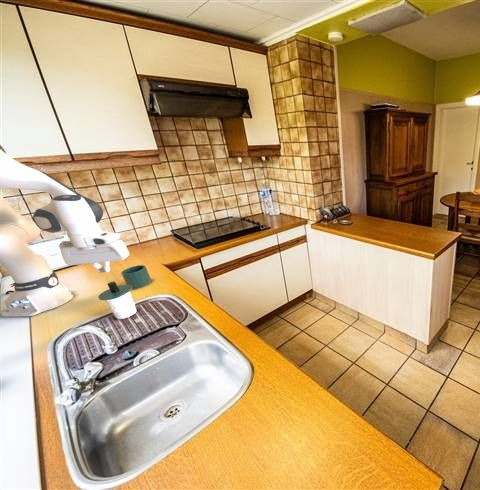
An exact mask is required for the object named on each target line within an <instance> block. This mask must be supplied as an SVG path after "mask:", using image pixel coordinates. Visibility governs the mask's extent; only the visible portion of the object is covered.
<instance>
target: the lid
mask: <svg viewBox="0 0 480 490" xmlns="http://www.w3.org/2000/svg"><path fill="white" fill-rule="evenodd" d="M106 285H107V286H108V289H106V290H104V291H103V292H101V293H100V294H99V295H98V297H97V298H98V300H100V301H105V300H110V299H114V298H117V297H120V296H122V295H124V294H126V293H128V292H131V291H132V290H133V289H132V286H131V285H126V284H121V285H117V283H116V281H109V282H108V283H107V284H106Z"/></svg>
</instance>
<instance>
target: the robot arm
mask: <svg viewBox="0 0 480 490" xmlns="http://www.w3.org/2000/svg"><path fill="white" fill-rule="evenodd" d="M0 189H2V190H3V189H4V190H29V191H30V190H31V191H38V192H43V193H47V194H49V195H50V196H52V198H51V199H50V203H48V204H46V205H45V206H42V207H39V208H36V209H35V211H34V212H33V215H32V220H31V219H28V218H26V217H24V216H23V215H22V214H20V212H17V211H16V209H14V208H13V207H12V206H11V205H10V204H9V202H7V201H6V200H5V197H3V196H2V195H1V194H0V265H1V266H2V268H4V269H5V271H6V272H7V273H8V275H9V276H10V277H11V279H12V280H13V283H11V284H9V285H8V286H9V287H10V288H13V287H14V290H7V291H6V292H5V295H9V294H10V293H11V294H10V295H9V296H8V297H7V298H6V300H5V301H4V305H5V307H6V309H5V310H4V311H3V312H2V313H1V317H2V318H3V317H6V318H7V317H10V318H12V317H33V316H37V315H38V314H42V313H44V312H47V311H50V310H53V309H56V308H58V307H60V306H63V305H65V304H67V303H68V302H69V301H71V300H72V299H73V298H74V295H73V294H72V292H71V290H69V289H68V287H67V286H65V285H64V283H63V282H62V281H61V280H60V279H59V276H58V275H57V273H56V272H55V271H54V270H52V268H51V266H50V264H49V263H48V261H47V260H46V258H45V256H43V255H41V254H37V253H35V252H34V251H33V250H32V249H31V248H30V247H29V246H28V245H29V244H31V243H32V242H34V241H36V240H37V239H38V237H39V236H40V235H41V233H42V231H44V232H47V233H51V234H56V233H63V232H66V235H67V237H68V239H69V240H63V241H61V242H60V243H59V245H58V247H59V250H60V253H61V257H62V259H63V261H64V263H65V264H66V265H68V266H80V265H88V264H90V265H91V267H92V268H94V269H95V270H97V271H98V273H99V274H101V273H109V272H110V271H111V268H110V265H111V262H115V261H124V260H125V259H127V258H129V256H130V251H129V249H128V247H127V246H126V243H125V242H124V241H123V240H122V239H121V235H120V233H118V232H112V231H108V230H102V228H101V226H100V225H99V224H98V223H100V221H101V220H102V219H103V216H104V209H103V208H102V206H101V204H100V203H98V202H96V201H95V200H93V199H91V198H89V197H86V196H84V195H82V194H81V193H79V192H77V191H76V190H75V189H73V188H71V187H69V186H68V185H67V184H65V183H64V182H62V181H60V180H59V179H56V177H53V176H52V175H51V174H49V173H46V172H44V171H42V170H39V169H35V168H33V167H30V166H28V165H26V164H23V163H21V162H19V161H17V160H15V159H14V158H13V157H11V156H10V155H9V154H7V152H6V150H5V148H4V147H3V146H2V145H1V144H0ZM102 265H103V266H102Z"/></svg>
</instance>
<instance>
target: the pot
mask: <svg viewBox="0 0 480 490" xmlns="http://www.w3.org/2000/svg"><path fill="white" fill-rule="evenodd" d="M120 274H121V276H122V279H123V280H124V282H125V285H131V286H132V290H136V289H137V290H138V289H141V288H144V287H146V286H148V285H149V284H151V283H152V278H151V275H150V273H149V271H148V269H147V267H146V265H143V264H141V265H139V264H138V265H134V266H131V267H128V268H126V269H123V270H122V271H121V272H120Z"/></svg>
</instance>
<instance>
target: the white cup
mask: <svg viewBox="0 0 480 490" xmlns="http://www.w3.org/2000/svg"><path fill="white" fill-rule="evenodd" d="M104 302H105V304H106V305H107V307H108V308H109V310H110V312H111V313H112V314H113V315H114V317H115V319H117V320H125V319H127V318H129V317H132V316H133V315H135V314H136V313H137V307H136V304H135V302H134V299H133V296H132V294H131V291H129V292H128V293H126V294H124V295H122V296H120V297H117V298H114V299H110V300H104Z"/></svg>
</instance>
